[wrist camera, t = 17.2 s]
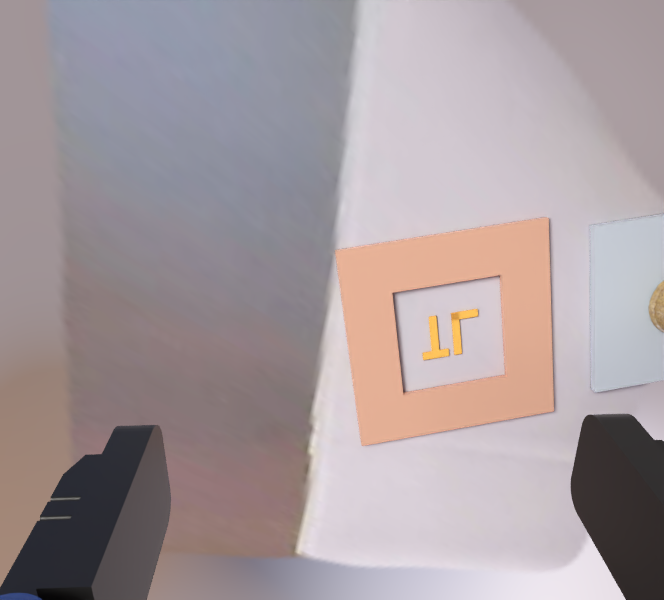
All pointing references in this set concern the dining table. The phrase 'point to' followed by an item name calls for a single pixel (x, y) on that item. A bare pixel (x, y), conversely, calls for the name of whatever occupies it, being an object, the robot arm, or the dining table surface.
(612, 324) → the pad
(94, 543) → the robot arm
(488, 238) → the peach square frame
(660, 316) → the sprinkles bottle
